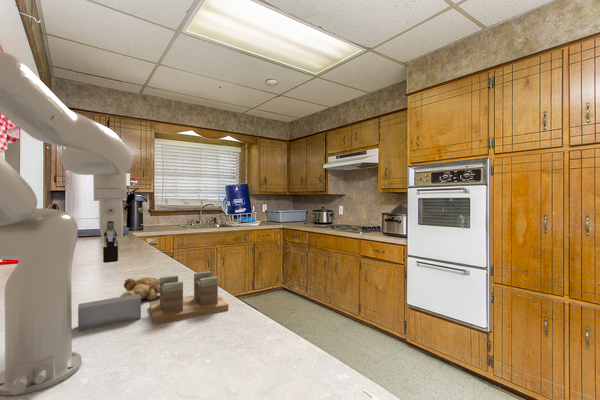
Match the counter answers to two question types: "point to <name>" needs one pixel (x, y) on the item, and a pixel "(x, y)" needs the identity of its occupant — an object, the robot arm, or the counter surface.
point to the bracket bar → (108, 312)
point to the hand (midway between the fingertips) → (111, 258)
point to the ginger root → (142, 287)
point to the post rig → (187, 299)
